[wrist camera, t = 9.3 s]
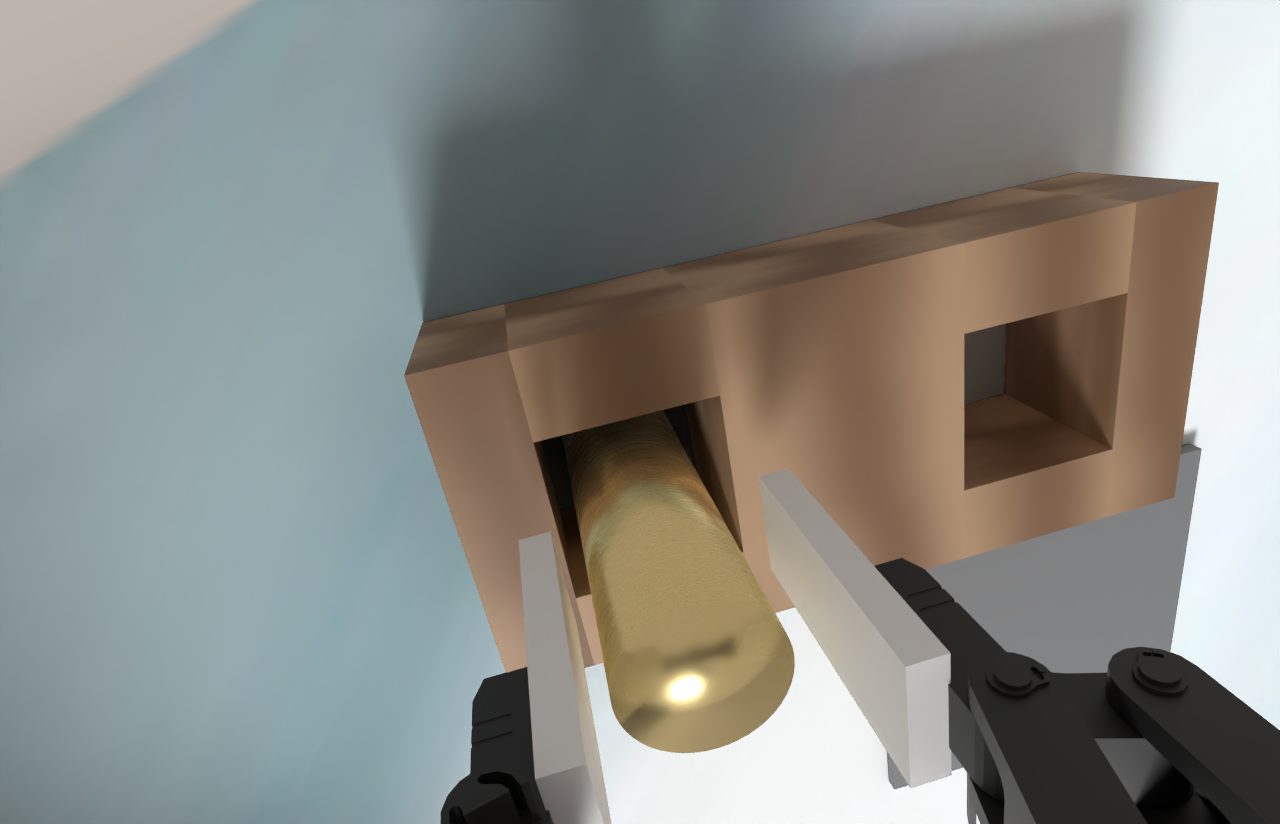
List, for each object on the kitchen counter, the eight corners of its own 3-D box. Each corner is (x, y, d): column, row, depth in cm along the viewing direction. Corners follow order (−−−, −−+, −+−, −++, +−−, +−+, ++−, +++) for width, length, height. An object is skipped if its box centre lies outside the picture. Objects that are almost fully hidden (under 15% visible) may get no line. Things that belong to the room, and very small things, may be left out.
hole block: (507, 588, 25) (511, 689, 21) (422, 322, 21) (404, 375, 17) (1061, 436, 28) (1174, 497, 23) (1078, 172, 24) (1218, 182, 19)
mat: (888, 780, 33) (894, 789, 33) (874, 532, 28) (880, 539, 27) (1153, 695, 35) (1162, 702, 34) (1190, 443, 29) (1201, 448, 29)
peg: (573, 483, 25) (629, 773, 14) (550, 391, 23) (592, 632, 12) (671, 459, 25) (802, 723, 14) (654, 367, 23) (785, 580, 12)
